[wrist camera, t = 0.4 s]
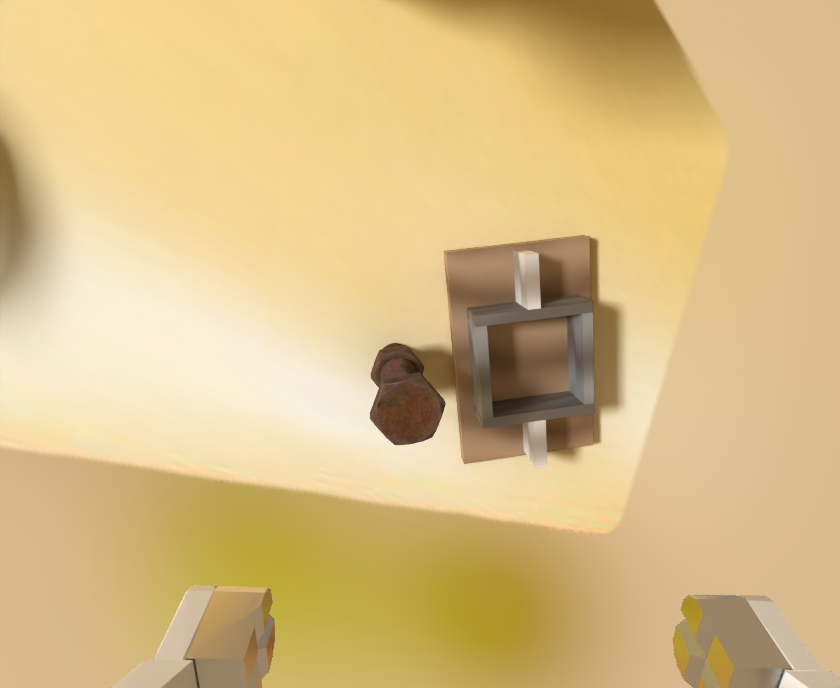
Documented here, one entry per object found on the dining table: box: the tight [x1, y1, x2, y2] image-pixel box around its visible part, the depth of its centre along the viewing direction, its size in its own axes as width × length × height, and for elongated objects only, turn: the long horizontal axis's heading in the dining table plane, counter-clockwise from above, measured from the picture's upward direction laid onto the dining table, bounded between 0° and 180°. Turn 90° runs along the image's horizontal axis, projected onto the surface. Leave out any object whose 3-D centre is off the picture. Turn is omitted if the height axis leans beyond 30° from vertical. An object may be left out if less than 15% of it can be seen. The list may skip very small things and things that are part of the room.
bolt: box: [370, 343, 445, 445], centre depth 50 cm, size 6×5×15 cm
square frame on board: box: [444, 235, 595, 468], centre depth 56 cm, size 22×14×6 cm, turn 6°
